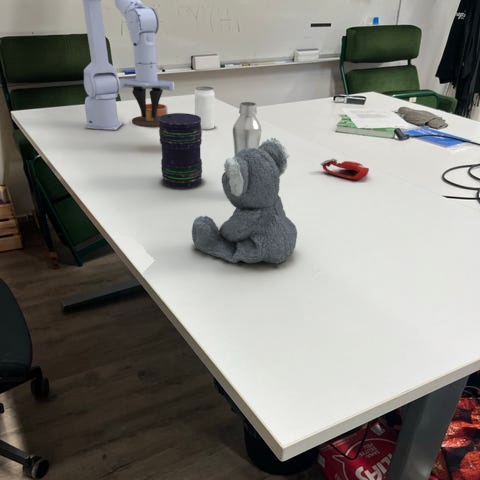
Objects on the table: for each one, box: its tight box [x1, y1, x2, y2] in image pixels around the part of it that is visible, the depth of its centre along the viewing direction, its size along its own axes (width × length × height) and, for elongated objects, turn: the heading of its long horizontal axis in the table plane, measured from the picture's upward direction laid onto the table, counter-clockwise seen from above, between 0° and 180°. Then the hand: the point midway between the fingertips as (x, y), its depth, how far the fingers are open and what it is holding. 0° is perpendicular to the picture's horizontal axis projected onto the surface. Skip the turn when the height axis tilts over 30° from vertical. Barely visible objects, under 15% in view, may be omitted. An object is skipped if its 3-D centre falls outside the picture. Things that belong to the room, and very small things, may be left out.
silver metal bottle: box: [232, 101, 263, 157], centre depth 107 cm, size 6×7×20 cm
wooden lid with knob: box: [131, 110, 160, 128], centre depth 134 cm, size 10×10×3 cm
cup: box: [140, 103, 169, 128], centre depth 159 cm, size 9×9×6 cm
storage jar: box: [158, 112, 203, 190], centre depth 114 cm, size 10×10×15 cm
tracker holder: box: [320, 157, 370, 181], centre depth 125 cm, size 12×4×10 cm
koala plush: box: [191, 137, 298, 265], centre depth 85 cm, size 17×18×20 cm
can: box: [194, 85, 216, 131], centre depth 156 cm, size 6×6×12 cm
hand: (149, 116), depth 134 cm, fingers closed on wooden lid with knob, 2 cm apart
